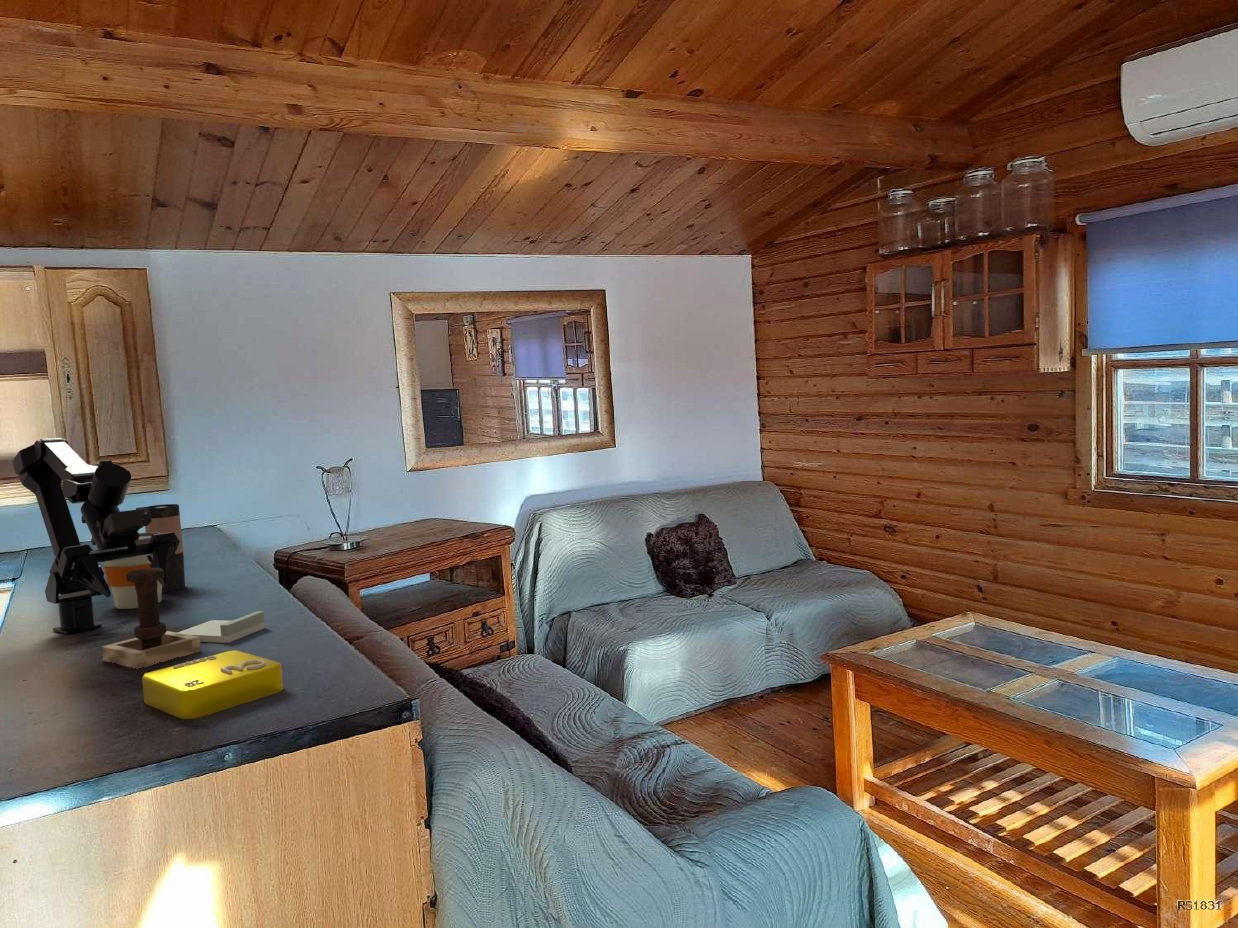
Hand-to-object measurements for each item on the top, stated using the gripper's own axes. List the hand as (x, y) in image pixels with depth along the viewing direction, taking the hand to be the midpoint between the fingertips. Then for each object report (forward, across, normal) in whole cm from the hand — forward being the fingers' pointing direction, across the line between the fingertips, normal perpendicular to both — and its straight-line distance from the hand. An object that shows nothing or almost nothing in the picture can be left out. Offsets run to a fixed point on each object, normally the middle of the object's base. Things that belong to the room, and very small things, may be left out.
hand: (137, 590), depth 152 cm
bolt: (+11, 0, +6) cm, 12 cm away
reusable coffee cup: (-23, +17, +39) cm, 48 cm away
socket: (+10, 0, +5) cm, 12 cm away
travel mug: (-30, +28, +46) cm, 62 cm away
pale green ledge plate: (+8, +14, +8) cm, 18 cm away
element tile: (+33, -4, -16) cm, 36 cm away
